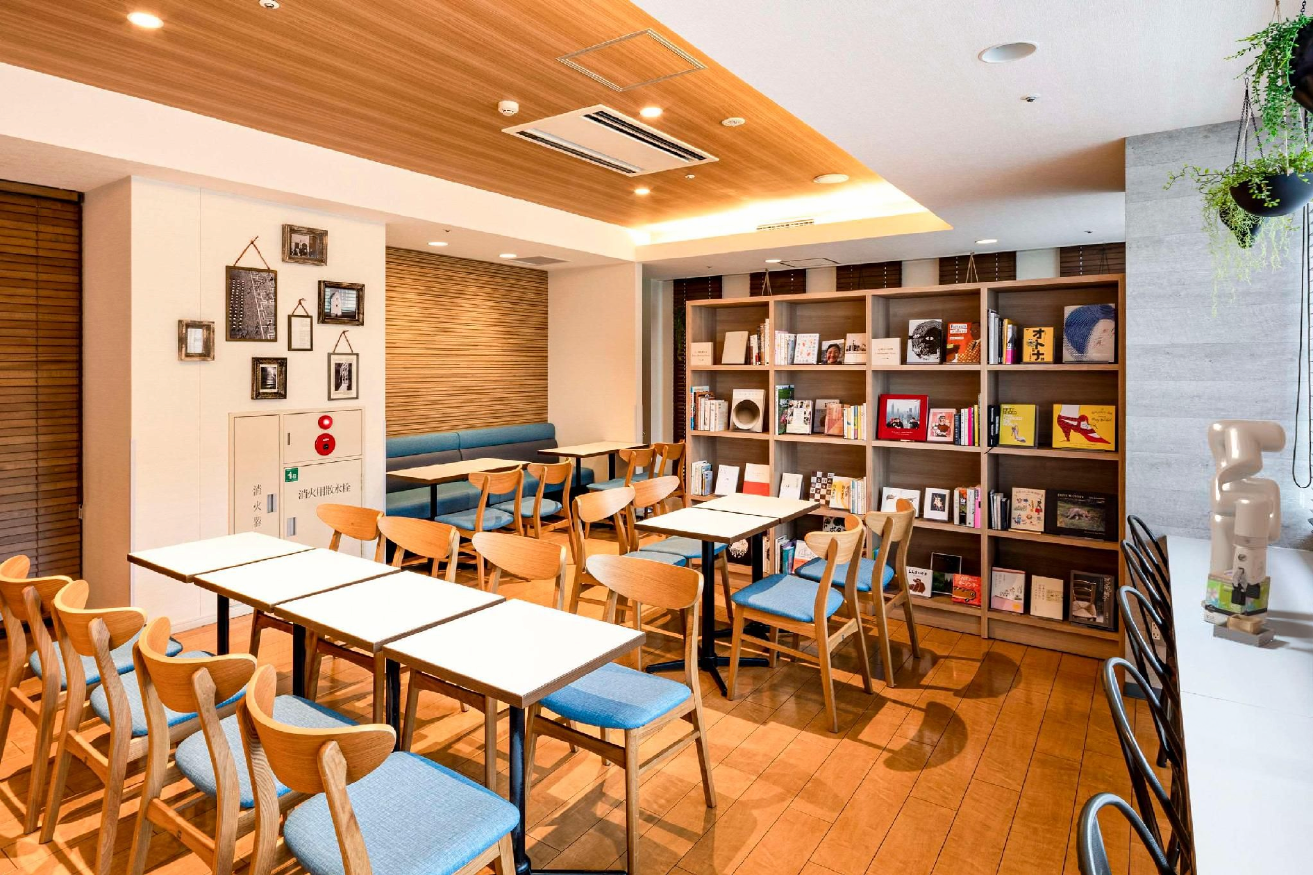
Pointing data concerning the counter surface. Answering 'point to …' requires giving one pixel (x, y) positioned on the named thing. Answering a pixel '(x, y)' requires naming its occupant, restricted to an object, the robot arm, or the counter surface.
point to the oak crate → (1244, 624)
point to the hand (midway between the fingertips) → (1245, 601)
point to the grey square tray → (1243, 635)
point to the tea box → (1220, 599)
